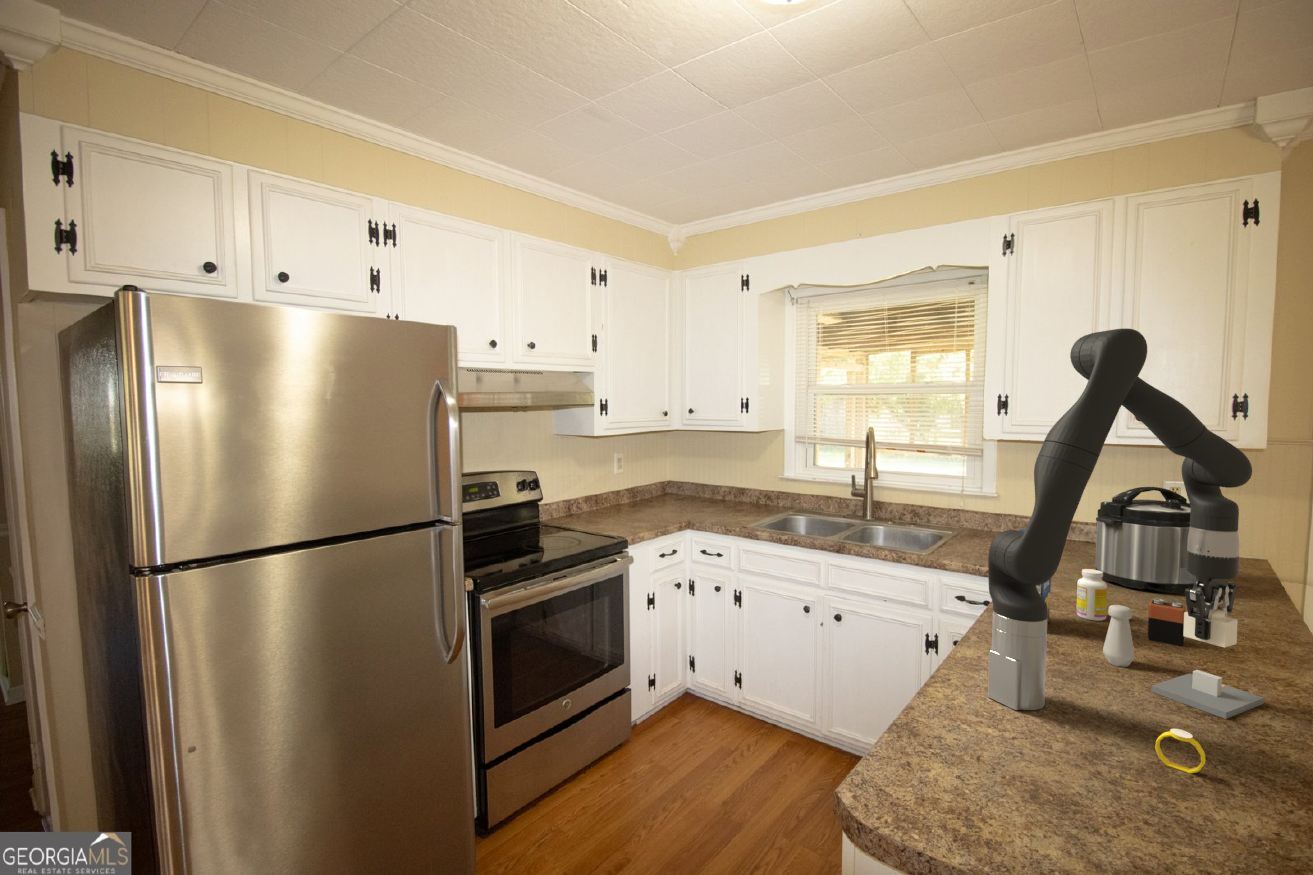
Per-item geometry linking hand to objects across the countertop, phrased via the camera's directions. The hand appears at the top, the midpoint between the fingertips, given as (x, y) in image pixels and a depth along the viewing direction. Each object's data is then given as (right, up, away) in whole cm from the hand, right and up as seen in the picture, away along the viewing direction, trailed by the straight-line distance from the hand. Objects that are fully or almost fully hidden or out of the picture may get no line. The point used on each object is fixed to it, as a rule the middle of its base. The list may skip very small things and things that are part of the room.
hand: (1209, 636), depth 121 cm
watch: (-26, -14, -23) cm, 37 cm away
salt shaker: (-5, -12, +17) cm, 21 cm away
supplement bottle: (+10, -10, +47) cm, 49 cm away
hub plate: (0, -12, +1) cm, 12 cm away
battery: (+16, -11, +30) cm, 36 cm away
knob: (0, -1, 0) cm, 1 cm away
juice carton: (-10, -10, +42) cm, 45 cm away
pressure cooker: (+50, -8, +79) cm, 94 cm away
